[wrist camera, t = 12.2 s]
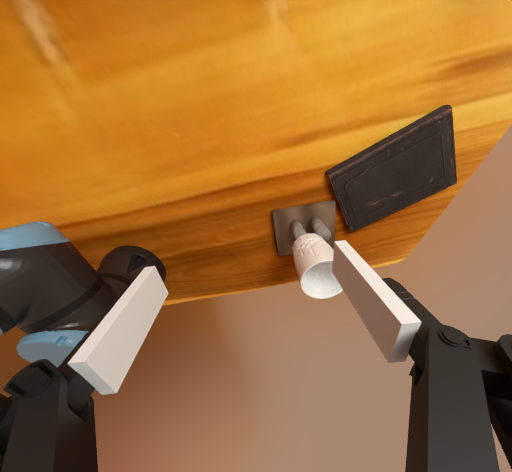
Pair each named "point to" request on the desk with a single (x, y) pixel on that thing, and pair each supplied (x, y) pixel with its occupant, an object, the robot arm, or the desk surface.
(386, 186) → the hardcover book
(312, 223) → the peg stand
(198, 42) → the desk surface
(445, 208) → the desk surface
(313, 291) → the white cup
